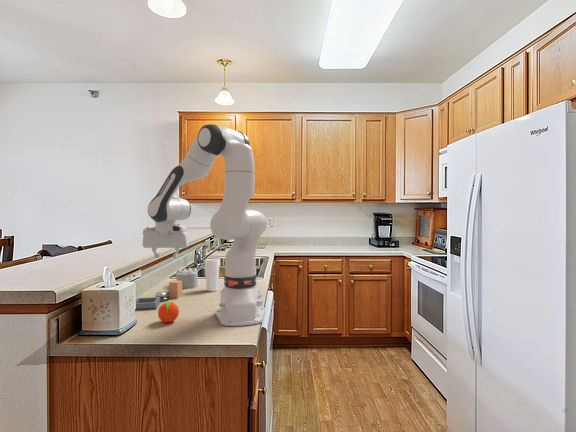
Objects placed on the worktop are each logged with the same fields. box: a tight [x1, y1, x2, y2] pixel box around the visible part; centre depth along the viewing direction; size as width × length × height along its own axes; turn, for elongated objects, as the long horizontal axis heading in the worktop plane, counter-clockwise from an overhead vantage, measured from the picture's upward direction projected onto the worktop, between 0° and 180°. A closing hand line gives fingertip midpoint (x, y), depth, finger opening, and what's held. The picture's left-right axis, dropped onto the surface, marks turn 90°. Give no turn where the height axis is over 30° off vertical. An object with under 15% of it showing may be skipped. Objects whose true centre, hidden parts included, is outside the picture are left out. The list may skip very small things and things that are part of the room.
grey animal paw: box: [175, 267, 199, 290], centre depth 177 cm, size 10×13×9 cm
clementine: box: [157, 301, 180, 324], centre depth 120 cm, size 8×7×7 cm
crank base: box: [160, 295, 169, 303], centre depth 149 cm, size 6×6×1 cm
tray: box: [135, 296, 161, 311], centre depth 139 cm, size 9×9×2 cm
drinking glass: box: [204, 257, 220, 292], centre depth 166 cm, size 7×7×15 cm
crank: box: [155, 288, 169, 298], centre depth 153 cm, size 13×4×4 cm, turn 164°
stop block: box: [168, 279, 183, 300], centre depth 154 cm, size 4×4×7 cm
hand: (166, 257), depth 157 cm, fingers open, 7 cm apart
